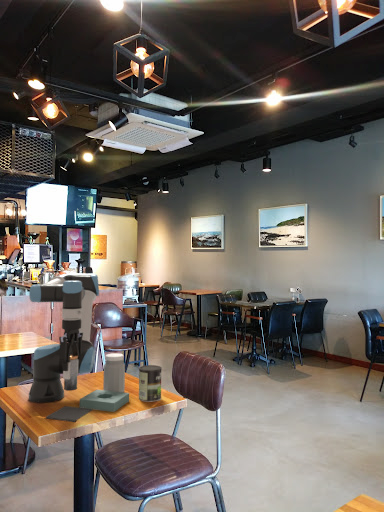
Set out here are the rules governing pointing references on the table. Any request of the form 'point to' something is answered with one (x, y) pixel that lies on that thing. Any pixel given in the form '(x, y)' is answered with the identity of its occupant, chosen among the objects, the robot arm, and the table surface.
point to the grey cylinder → (72, 374)
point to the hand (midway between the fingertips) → (70, 376)
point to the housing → (104, 400)
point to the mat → (68, 414)
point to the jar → (114, 373)
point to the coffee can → (150, 383)
